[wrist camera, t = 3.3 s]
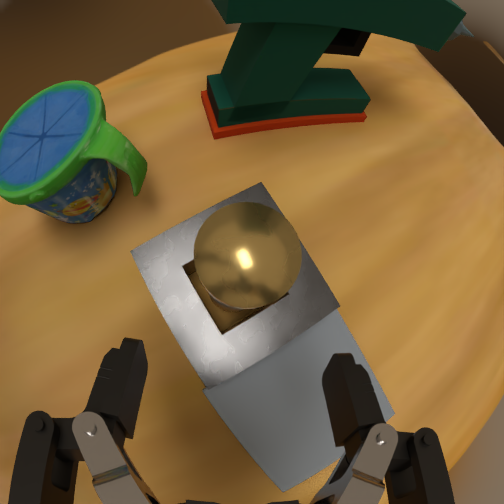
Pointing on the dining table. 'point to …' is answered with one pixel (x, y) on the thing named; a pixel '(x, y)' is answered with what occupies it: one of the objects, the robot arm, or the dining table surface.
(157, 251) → the socket block
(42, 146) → the snack cup
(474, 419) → the dining table surface
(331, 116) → the power tool
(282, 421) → the mat
